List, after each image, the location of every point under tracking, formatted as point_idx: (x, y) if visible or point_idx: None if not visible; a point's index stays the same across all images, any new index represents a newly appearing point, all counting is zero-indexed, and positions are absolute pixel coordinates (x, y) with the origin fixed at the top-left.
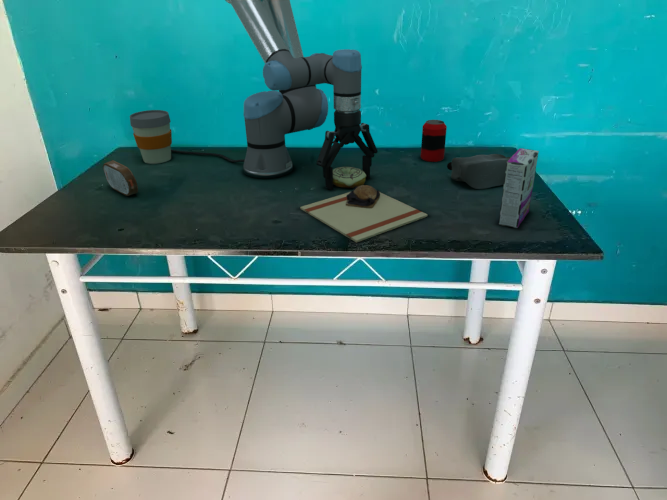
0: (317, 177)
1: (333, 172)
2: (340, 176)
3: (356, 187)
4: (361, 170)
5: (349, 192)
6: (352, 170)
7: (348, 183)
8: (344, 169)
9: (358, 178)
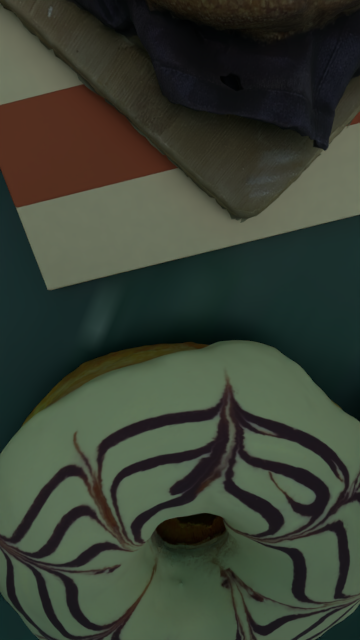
0: None
1: (358, 592)
2: (346, 486)
3: (309, 100)
4: (10, 572)
5: (313, 216)
6: (118, 595)
7: (278, 354)
8: (192, 631)
9: (136, 390)
